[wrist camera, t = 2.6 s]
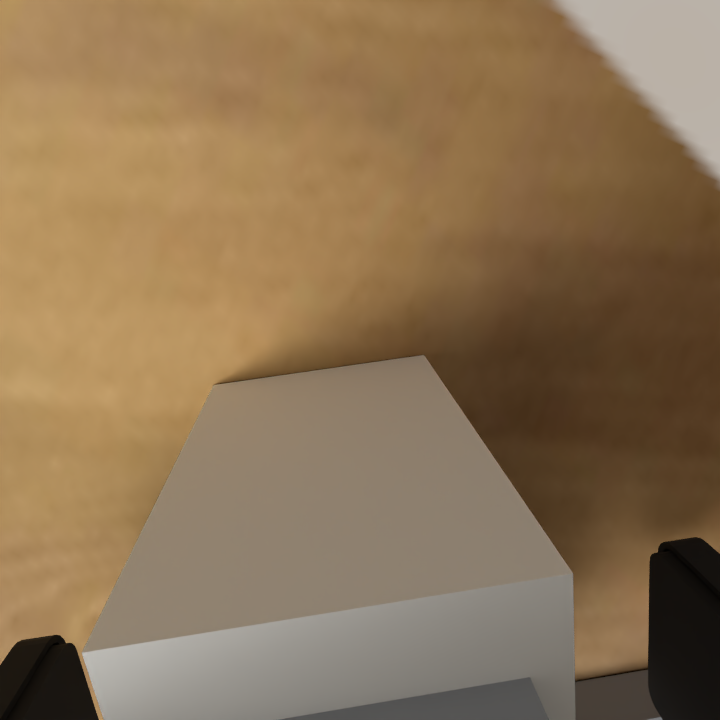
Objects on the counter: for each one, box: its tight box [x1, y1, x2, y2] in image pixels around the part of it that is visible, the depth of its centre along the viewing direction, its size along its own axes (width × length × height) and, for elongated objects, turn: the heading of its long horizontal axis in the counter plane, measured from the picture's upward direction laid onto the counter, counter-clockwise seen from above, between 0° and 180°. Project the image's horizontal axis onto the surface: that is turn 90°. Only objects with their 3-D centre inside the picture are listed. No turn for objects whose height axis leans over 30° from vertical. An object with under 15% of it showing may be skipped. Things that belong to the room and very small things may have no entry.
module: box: [82, 355, 575, 720], centre depth 9 cm, size 7×4×7 cm, turn 7°
